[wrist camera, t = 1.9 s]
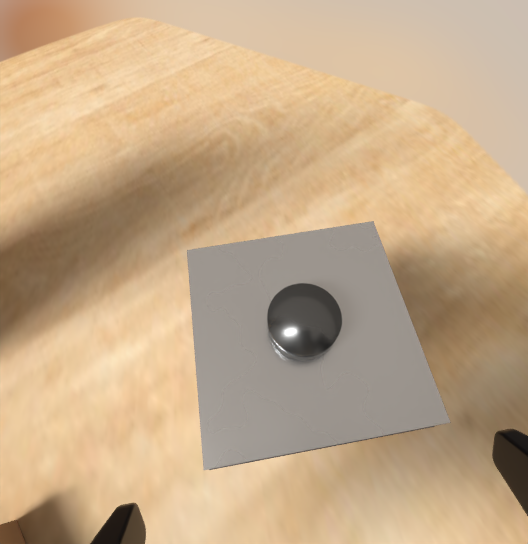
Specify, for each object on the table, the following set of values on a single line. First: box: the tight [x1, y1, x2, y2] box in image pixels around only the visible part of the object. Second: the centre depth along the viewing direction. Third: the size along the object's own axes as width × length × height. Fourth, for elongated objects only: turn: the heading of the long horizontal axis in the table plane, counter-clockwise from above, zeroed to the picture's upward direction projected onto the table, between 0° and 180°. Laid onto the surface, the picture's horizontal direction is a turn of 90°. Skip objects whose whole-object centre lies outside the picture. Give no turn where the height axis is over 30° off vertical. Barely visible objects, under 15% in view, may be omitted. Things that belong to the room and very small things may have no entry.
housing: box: [187, 221, 451, 470], centre depth 13 cm, size 5×5×13 cm
